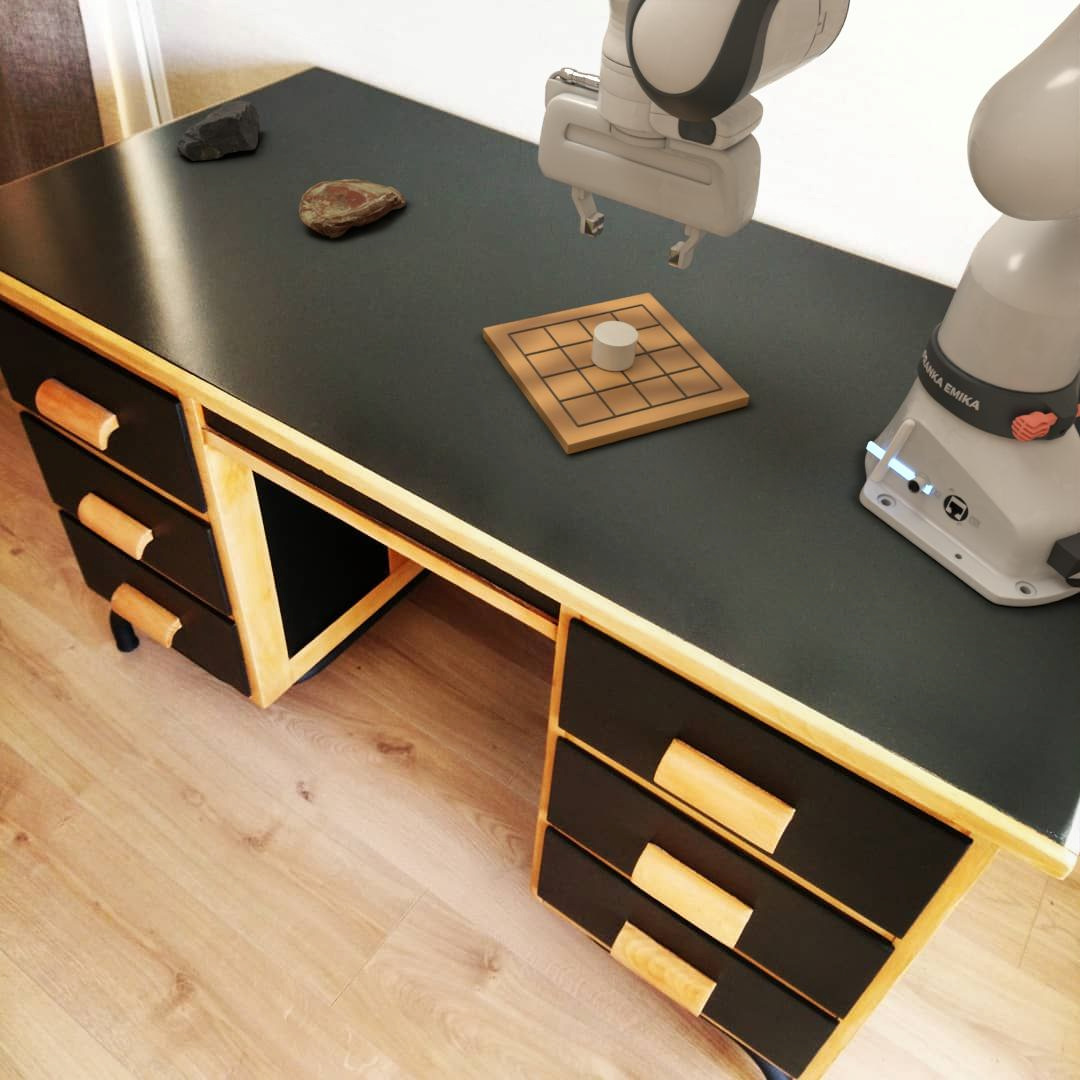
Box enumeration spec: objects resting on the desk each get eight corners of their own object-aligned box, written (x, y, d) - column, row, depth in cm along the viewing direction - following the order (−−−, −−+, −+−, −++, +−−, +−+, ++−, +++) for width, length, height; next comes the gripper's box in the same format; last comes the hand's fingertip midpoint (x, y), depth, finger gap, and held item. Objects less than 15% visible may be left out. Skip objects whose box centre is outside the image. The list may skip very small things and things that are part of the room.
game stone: (642, 365, 94) (646, 340, 92) (603, 375, 93) (606, 349, 91) (621, 342, 97) (625, 317, 95) (583, 350, 96) (586, 325, 93)
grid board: (747, 405, 93) (750, 395, 92) (567, 454, 86) (568, 443, 85) (647, 301, 105) (649, 291, 104) (482, 337, 98) (483, 326, 97)
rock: (179, 172, 122) (252, 155, 121) (160, 125, 119) (235, 107, 118) (201, 153, 131) (269, 137, 130) (184, 110, 128) (253, 93, 127)
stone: (346, 186, 120) (344, 161, 118) (412, 204, 117) (411, 180, 115) (280, 228, 112) (276, 203, 110) (350, 249, 109) (347, 224, 107)
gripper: (526, 71, 78) (522, 228, 88) (747, 135, 70) (716, 299, 80) (567, 52, 82) (559, 204, 92) (782, 110, 74) (749, 270, 84)
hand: (634, 249), depth 86 cm, fingers open, 8 cm apart
